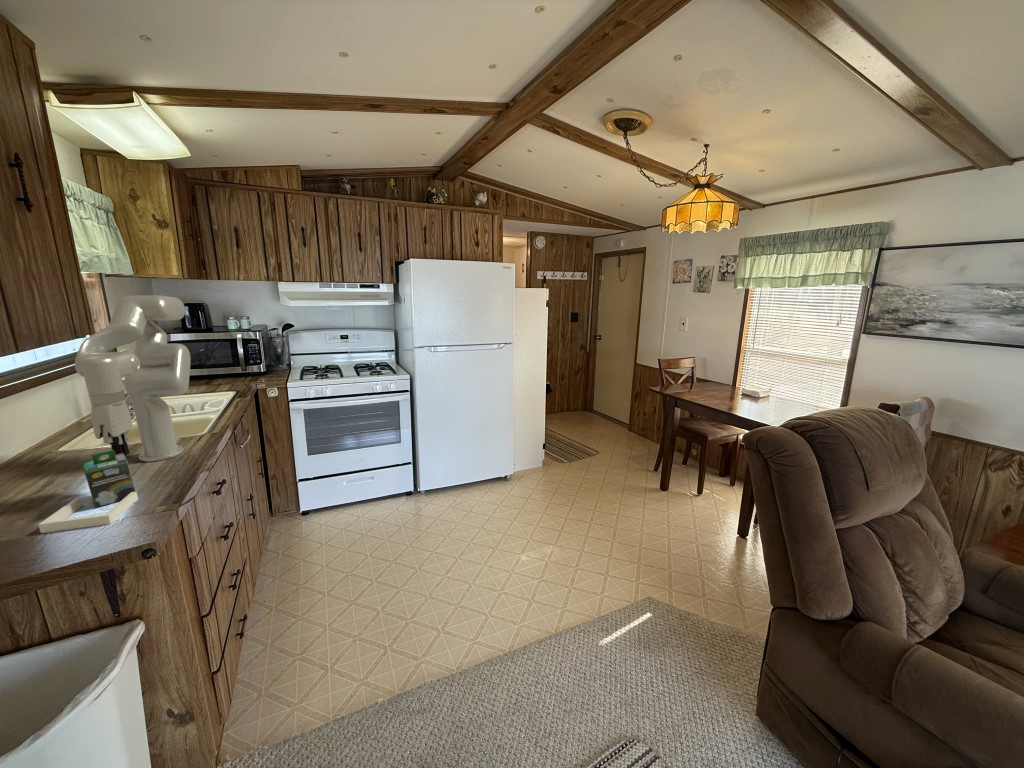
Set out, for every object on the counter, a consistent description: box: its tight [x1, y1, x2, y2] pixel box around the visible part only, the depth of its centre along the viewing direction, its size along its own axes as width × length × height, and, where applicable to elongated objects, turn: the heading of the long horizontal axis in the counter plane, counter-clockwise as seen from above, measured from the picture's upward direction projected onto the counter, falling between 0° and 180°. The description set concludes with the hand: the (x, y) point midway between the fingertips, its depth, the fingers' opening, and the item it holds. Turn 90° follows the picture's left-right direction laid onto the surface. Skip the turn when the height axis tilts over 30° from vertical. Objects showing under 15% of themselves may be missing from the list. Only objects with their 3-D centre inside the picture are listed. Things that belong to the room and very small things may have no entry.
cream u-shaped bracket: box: [38, 491, 139, 534], centre depth 113 cm, size 13×14×2 cm
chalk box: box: [82, 449, 137, 509], centre depth 120 cm, size 9×9×15 cm
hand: (121, 455), depth 126 cm, fingers closed
